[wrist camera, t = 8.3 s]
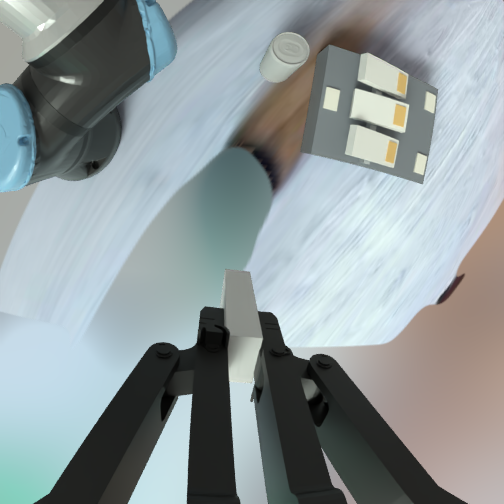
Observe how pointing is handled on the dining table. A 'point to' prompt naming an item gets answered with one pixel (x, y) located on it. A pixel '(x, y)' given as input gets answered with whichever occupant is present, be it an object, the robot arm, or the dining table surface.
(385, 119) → the rocker
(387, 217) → the dining table surface
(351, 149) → the rocker
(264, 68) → the beverage can
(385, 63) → the plate
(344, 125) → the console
